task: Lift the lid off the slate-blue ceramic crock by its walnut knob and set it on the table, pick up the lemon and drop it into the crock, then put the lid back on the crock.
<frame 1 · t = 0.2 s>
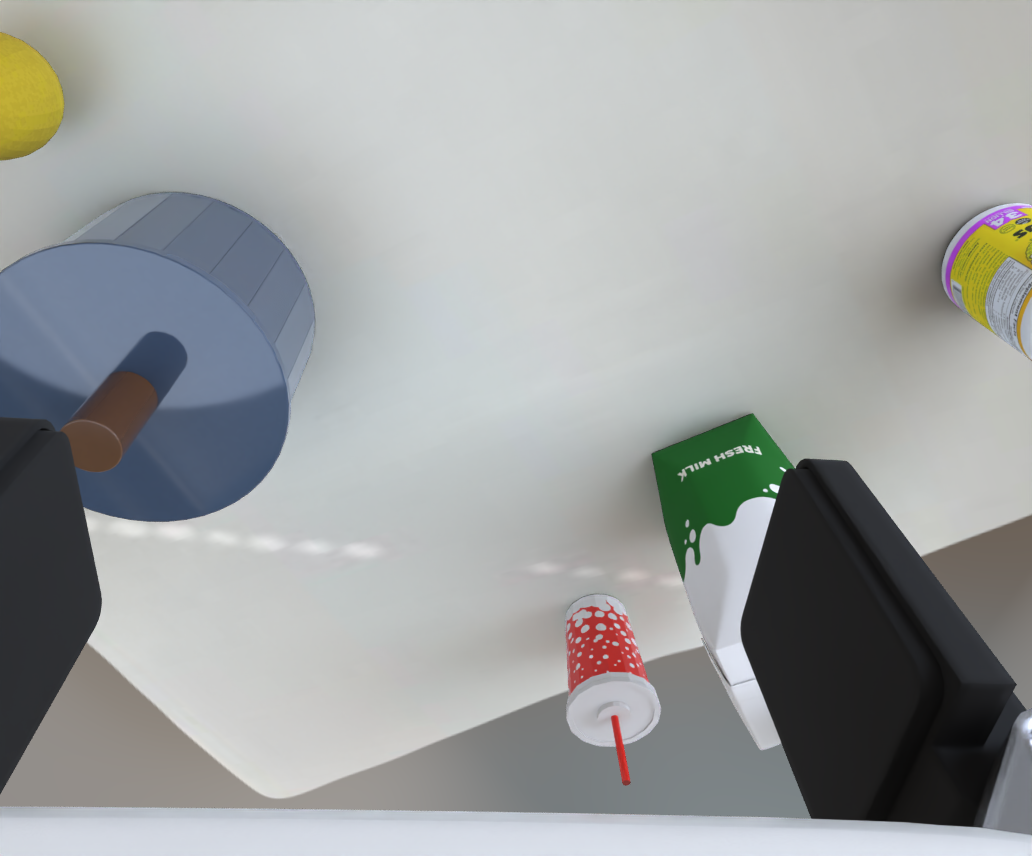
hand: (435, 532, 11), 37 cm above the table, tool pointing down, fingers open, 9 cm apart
supplement bottle: (991, 255, 48), on the table
lemon: (33, 83, 41), on the table
crock lid: (134, 389, 39), point 10 cm above the table, touching crock
beverage cup: (595, 615, 61), on the table
milk carton: (716, 471, 55), on the table
crock: (195, 310, 48), on the table
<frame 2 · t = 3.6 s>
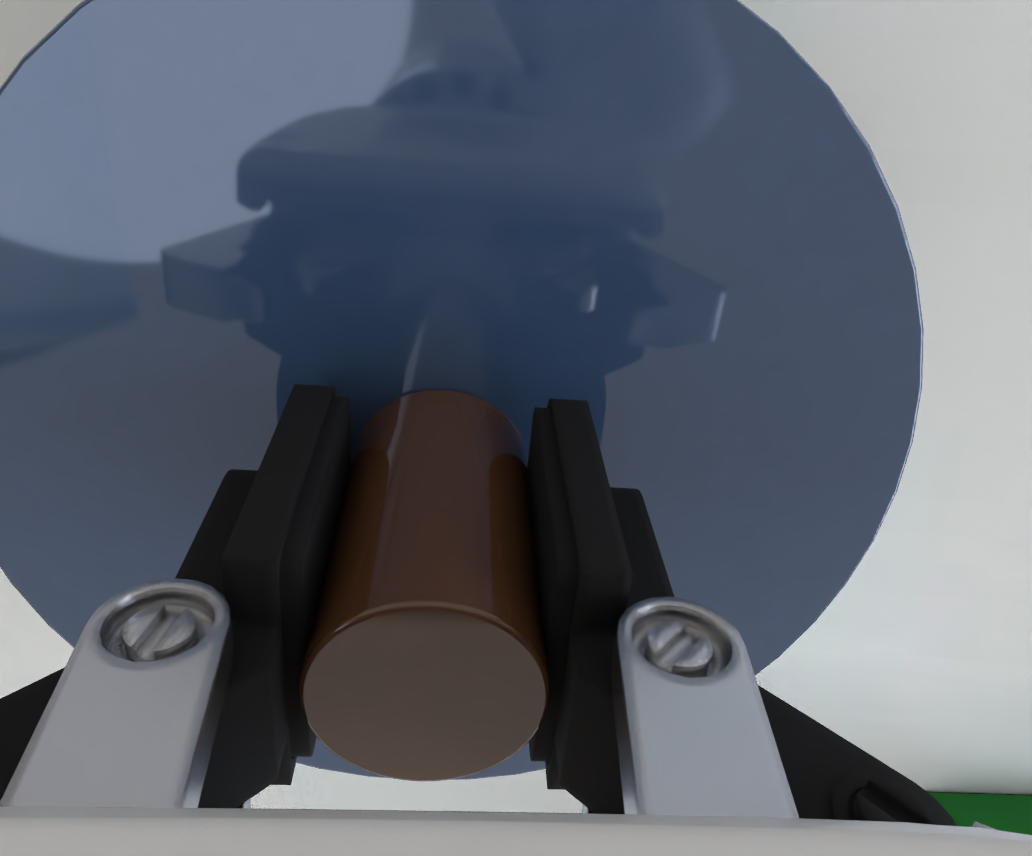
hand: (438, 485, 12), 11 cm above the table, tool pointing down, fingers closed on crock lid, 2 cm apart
crock lid: (441, 444, 13), point 10 cm above the table, touching crock, gripper
milk carton: (969, 840, 36), on the table
when the fingers open (2 cm above the table, at t = 9.9 s): crock lid stays where it is, point 1 cm above the table.
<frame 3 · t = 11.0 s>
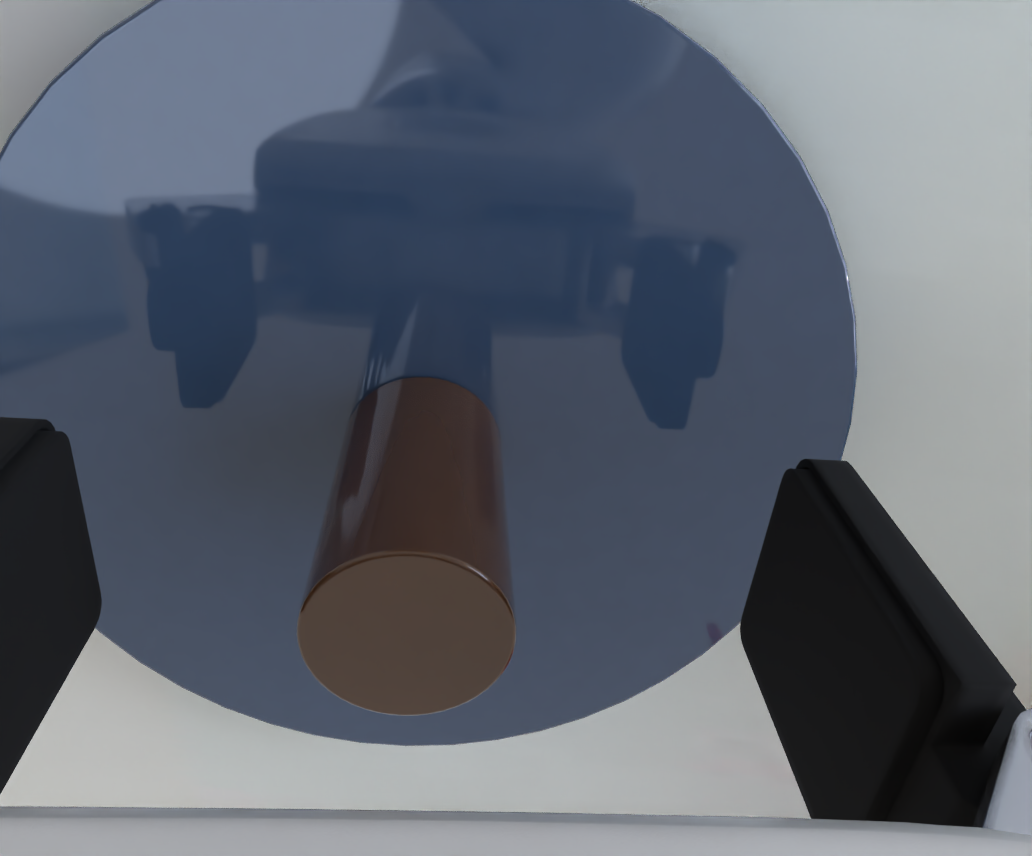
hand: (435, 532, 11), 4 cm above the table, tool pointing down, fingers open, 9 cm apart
crock lid: (424, 428, 14), point 1 cm above the table
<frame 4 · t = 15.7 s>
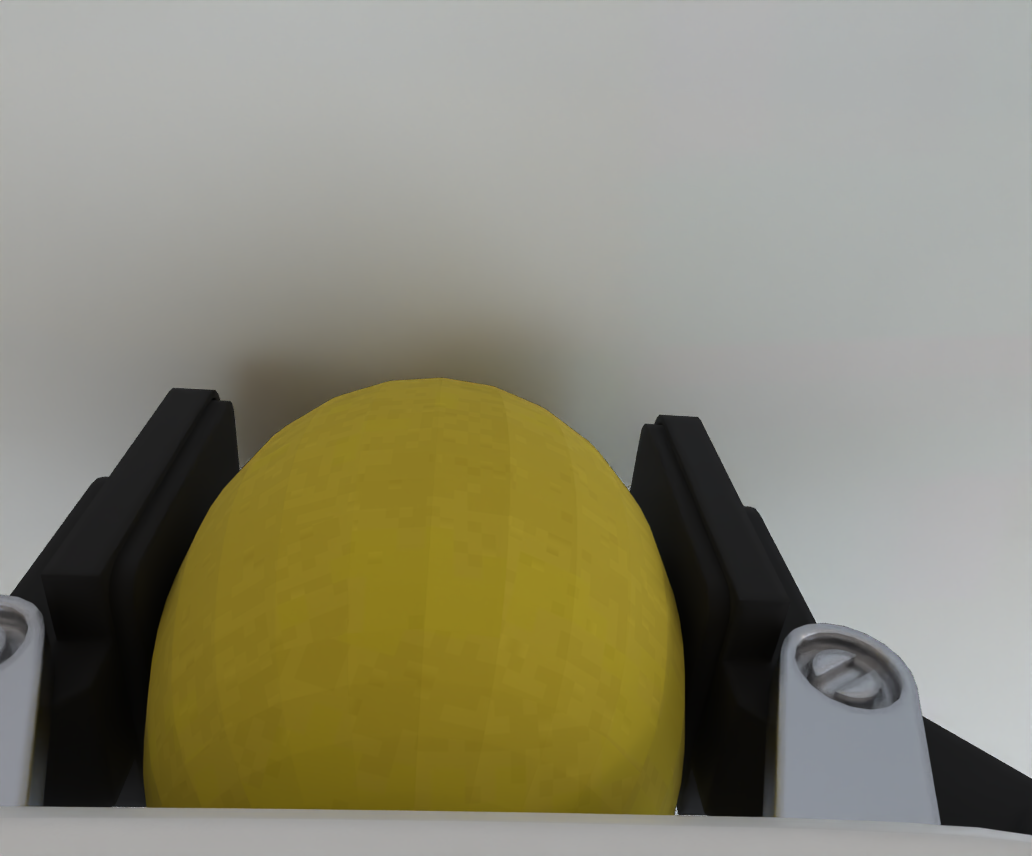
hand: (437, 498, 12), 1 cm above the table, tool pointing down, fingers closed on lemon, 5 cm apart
lemon: (441, 450, 13), on the table, touching gripper
when the fingers open (8 cm above the table, at t = 21.5 s): lemon drops 6 cm, resting on crock.
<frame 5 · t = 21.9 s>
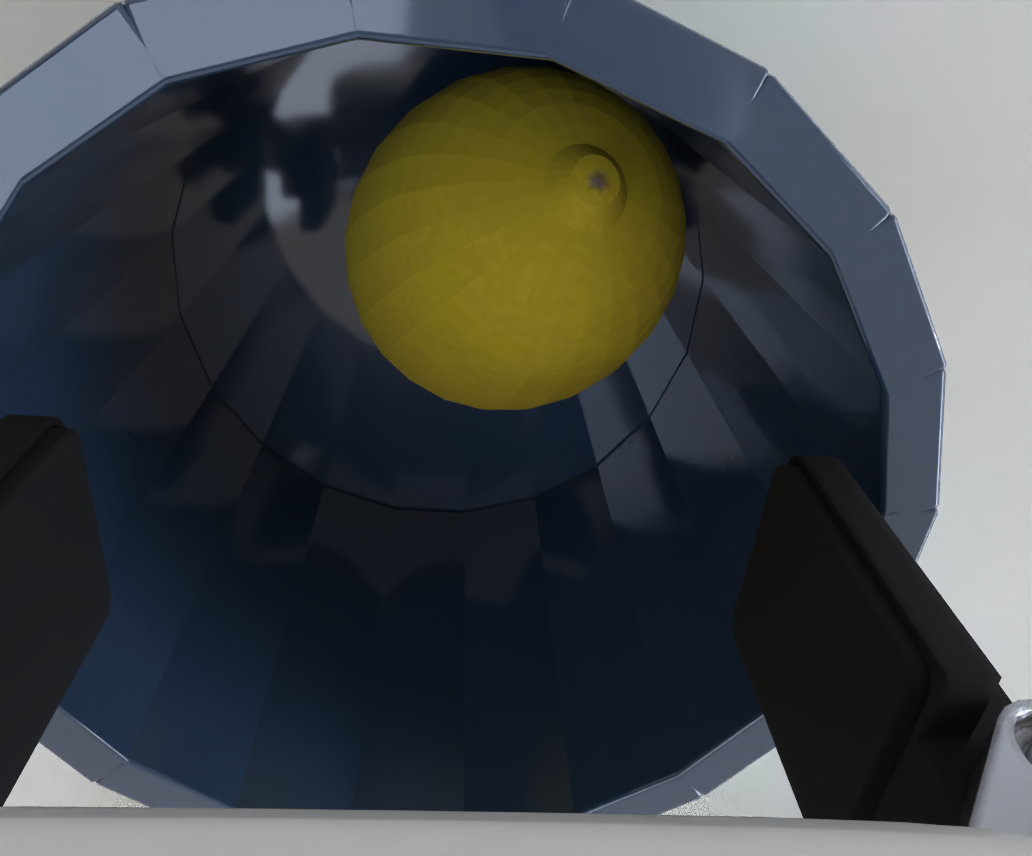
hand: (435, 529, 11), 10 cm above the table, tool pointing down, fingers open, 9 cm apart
lemon: (452, 297, 18), point 1 cm above the table, touching crock
crock: (443, 289, 20), on the table
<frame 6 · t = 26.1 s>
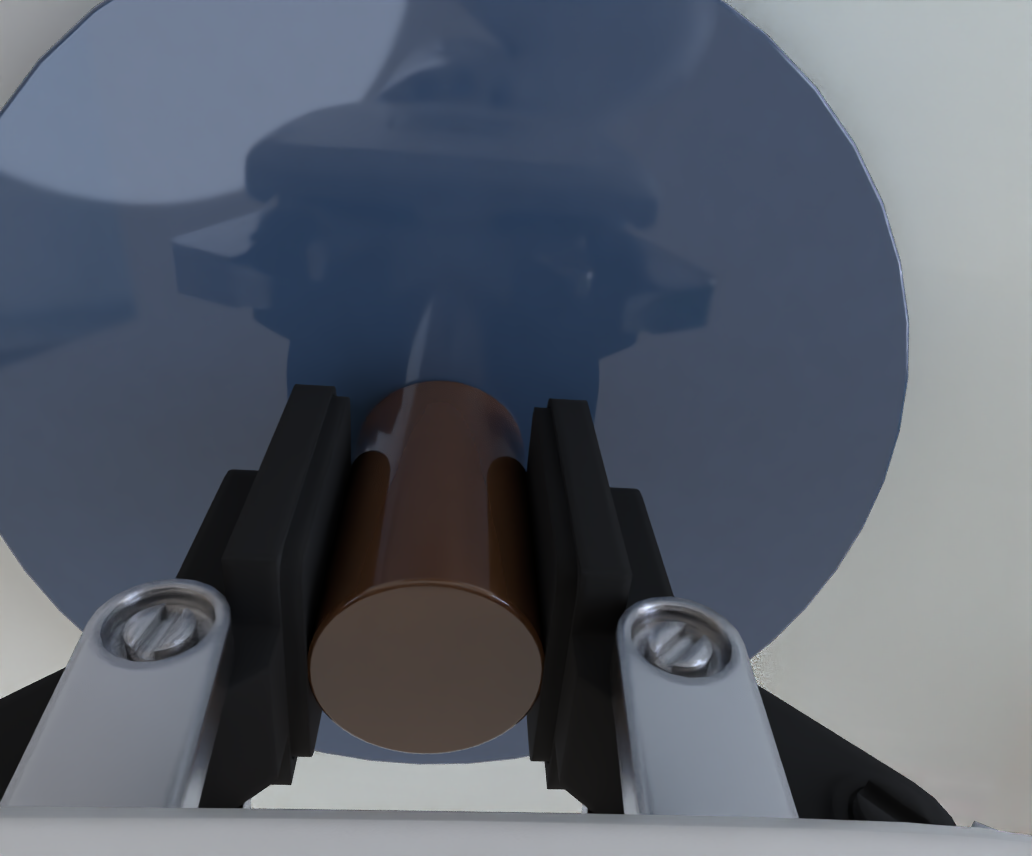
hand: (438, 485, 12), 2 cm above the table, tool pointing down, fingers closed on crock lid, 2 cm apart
crock lid: (442, 434, 13), point 1 cm above the table, touching gripper
when the fingers open (12 cm above the table, at t = 33.4 s): crock lid stays where it is, resting on crock.
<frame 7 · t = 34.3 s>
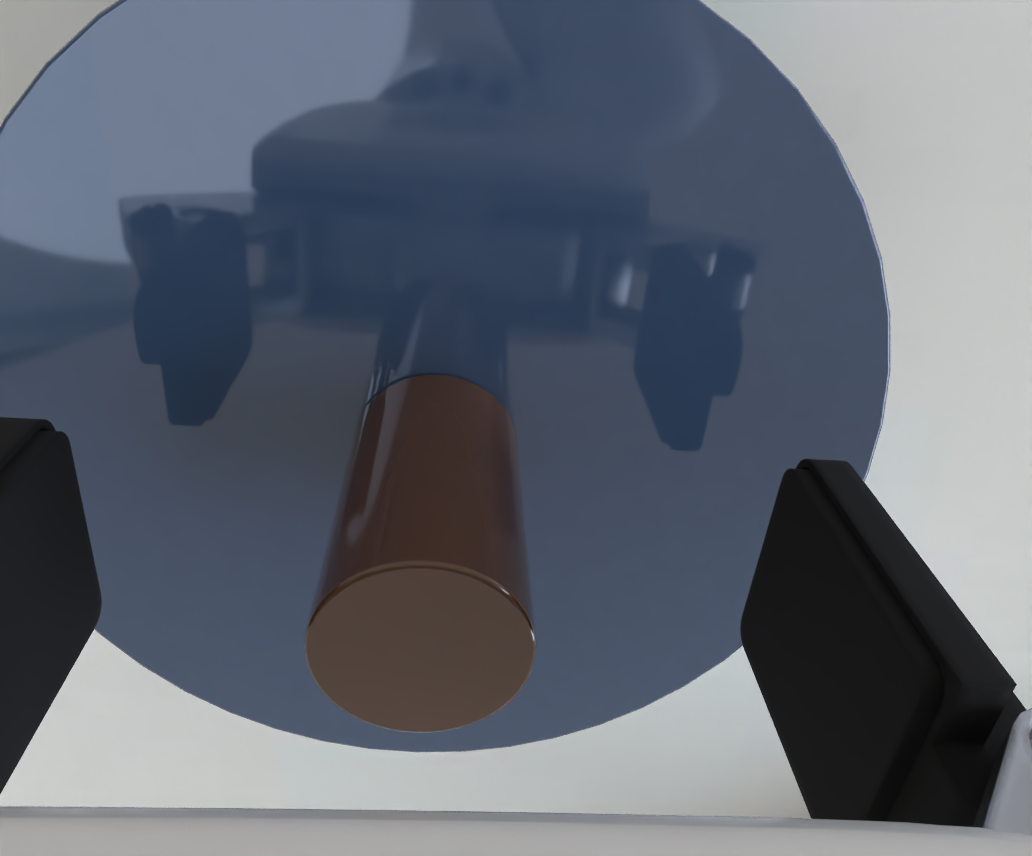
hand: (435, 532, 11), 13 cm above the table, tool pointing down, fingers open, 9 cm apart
crock lid: (437, 427, 14), point 10 cm above the table, touching crock
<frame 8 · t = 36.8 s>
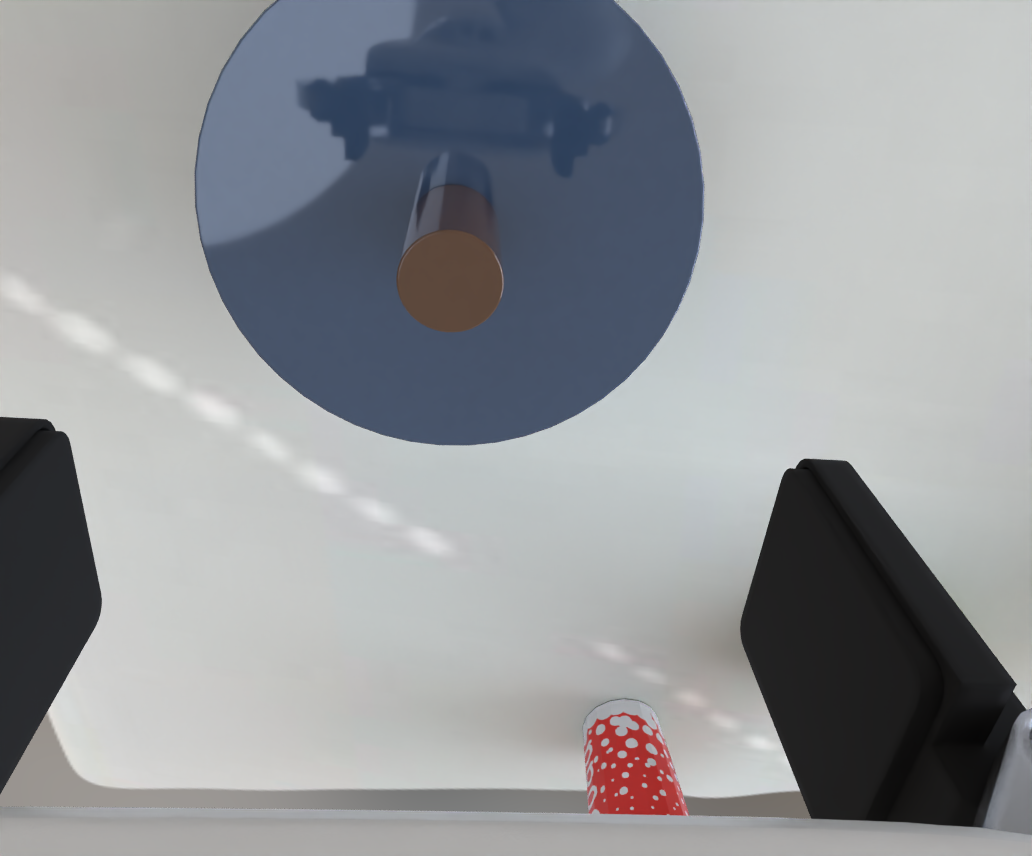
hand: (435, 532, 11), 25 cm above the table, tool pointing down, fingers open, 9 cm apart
crock lid: (454, 223, 24), point 10 cm above the table, touching crock
beverage cup: (620, 723, 50), on the table
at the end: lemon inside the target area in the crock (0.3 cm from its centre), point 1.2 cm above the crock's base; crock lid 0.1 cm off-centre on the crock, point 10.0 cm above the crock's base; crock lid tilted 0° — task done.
